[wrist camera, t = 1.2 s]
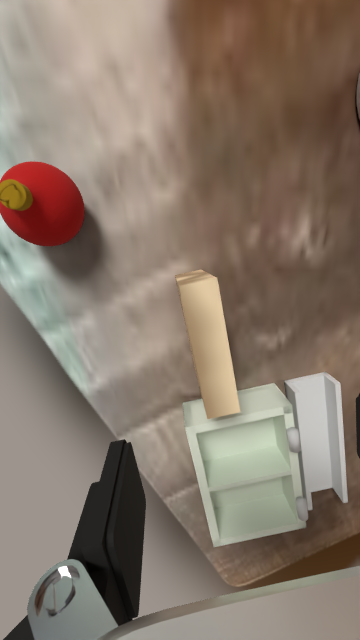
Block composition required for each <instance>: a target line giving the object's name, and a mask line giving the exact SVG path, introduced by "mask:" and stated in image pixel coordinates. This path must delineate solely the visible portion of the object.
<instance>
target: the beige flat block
mask: <svg viewBox="0 0 360 640" xmlns="http://www.w3.org/2000/svg"><path fill="white" fill-rule="evenodd" d="M175 278H176V282H177V287H178V291H179V296H180V301H181V305H182V310H183V315H184V319H185V324H186V329H187V333H188V338H189V343H190V347H191V352H192V357H193V361H194V366H195V371H196V375H197V379H198V383H199V387H200V391H201V395H202V399H203V404H204V408H205V412H206V416H207V419H211V418H216V417H220V416H225V415H230V414H234V413H239V412H240V406H239V400H238V394H237V389H236V383H235V377H234V372H233V366H232V360H231V354H230V349H229V343H228V337H227V331H226V326H225V320H224V314H223V309H222V303H221V297H220V291H219V286H218V280H217V278H216V277H214V276H212V275H210V274H208V273H206V272H204V271H202V270H197V271H193V272H188V273H184V274H179V275H175Z"/></svg>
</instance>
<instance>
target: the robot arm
mask: <svg viewBox="0 0 360 640" xmlns="http://www.w3.org/2000/svg"><path fill="white" fill-rule="evenodd" d="M357 109H358V115H359V119H360V74H359V78H358V85H357ZM356 428H357V454H358V456H359V458H360V394H359V397H357V398H356ZM145 510H146V499H145V494H144V490H143V486H142V482H141V478H140V475H139V471H138V467H137V463H136V459H135V456H134V452H133V448H132V444H131V442H129V443H127V442H126V440H125V439H124V440H119V441H115V442H111V443H110V446H109V449H108V453H107V456H106V460H105V464H104V468H103V471H102V474H101V478H100V481H99V482H95V483H92V484H91V486H90V489H89V492H88V495H87V498H86V501H85V505H84V508H83V511H82V514H81V517H80V521H79V524H78V527H77V530H76V533H75V536H74V540H73V543H72V546H71V549H70V553H69V556H68V559H67V560H64V561H62V562H59V563H57V564H56V565H54V566H53V567H52V568H50V569H49V570H48V571H47V572H46V573H45V574H44V575H43V576H42V577H41V578H40V580H39V581H38V583H37V584H36V585H35V587H34V589H33V591H32V594H31V596H30V598H29V602H28V607H27V612H28V615H27V616H26V617H25V618H24V619H23V620H22V621H21V622H20V623H19V624H18V625H17V626H16V627H15V628H14V629H13V630H12V631H11V632H10V633H9V634H8V635H7V636H6V637H5V638H4V639H3V640H360V566H357V567H352V568H347V569H343V570H337V571H333V572H328V573H324V574H319V575H314V576H309V577H305V578H301V579H296V580H291V581H287V582H282V583H277V584H273V585H268V586H264V587H259V588H255V589H250V590H246V591H241V592H236V593H232V594H228V595H223V596H218V597H214V598H210V599H206V600H202V601H198V602H194V603H190V604H186V605H182V606H177V607H173V608H169V609H165V610H162V611H159V612H155V613H152V614H149V615H146V616H142V617H140V618H137V619H135V620H132V618H135V617H137V616H138V612H139V600H140V585H141V570H142V555H143V540H144V524H145Z"/></svg>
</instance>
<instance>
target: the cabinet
mask: <svg viewBox="0 0 360 640" xmlns="http://www.w3.org/2000/svg"><path fill="white" fill-rule="evenodd" d="M284 384H285V392H286V397H285V396H284V394H283V393H282V392H281V391H280V390H279V388H278V387H277V386H276V385H275V383H272V384H267V385H263V386H258V387H254V388H249V389H244V390H240V391H237V394H238V400H239V406H240V412H239V413H234V414H230V415H225V416H220V417H216V418H211V419H207V416H206V412H205V408H204V404H203V399H198V400H193V401H189V402H184V403H183V412H184V422H185V429H186V434H187V438H188V442H189V446H190V450H191V454H192V459H193V463H194V467H195V471H196V475H197V479H198V483H199V488H200V492H201V496H202V500H203V504H204V508H205V513H206V517H207V521H208V525H209V529H210V533H211V538H212V542H213V546H214V547H217V546H222V545H227V544H231V543H236V542H241V541H245V540H250V539H255V538H259V537H264V536H269V535H274V534H278V533H283V532H288V531H292V530H297V529H302V528H306V521H307V520H308V510H313V508H312V499H311V492H315V491H319V490H324V489H329V488H333V489H334V490H335V492H336V493H337V495H338V496H339V498H340V499H341V500H342V502H343V503H346V502H348V498H347V482H346V466H345V450H344V434H343V418H342V402H341V386H340V383H339V382H338V381H337V380H336V379H334V378H333V377H332V376H330V375H329V374H328V373H326V372H323V373H318V374H314V375H309V376H304V377H300V378H295V379H290V380H286V381H284ZM307 509H308V510H307Z"/></svg>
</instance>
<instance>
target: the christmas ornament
mask: <svg viewBox="0 0 360 640" xmlns="http://www.w3.org/2000/svg"><path fill="white" fill-rule="evenodd" d="M0 213H1V215H2V218H3V219H4V221H5V222H6V224H7V225H8V226H9V228H10V229H11V230H12V231H13V232H14V233H15V234H17V235H18V236H19V237H21V238H22V239H24V240H26V241H28V242H30V243H33V244H36V245H40V246H57V245H61V244H64V243H66V242H68V241H69V240H71V239H72V238H73V237H75V235H76V234H77V233H78V232H79V230H80V229H81V226H82V224H83V221H84V213H85V210H84V203H83V199H82V196H81V193H80V191H79V189H78V188H77V186H76V185H75V183H74V182H73V181H72V180H71V179H70V177H68V176H67V175H66V174H65V173H64V172H62V171H61V170H59V169H58V168H56V167H54V166H52V165H49V164H46V163H42V162H24V163H21V164H18V165H16V166H13V167H12V168H11V169H9V170H8V171H7V172H6V173H5V174H4V175H3V177H2V178H1V180H0Z"/></svg>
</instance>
